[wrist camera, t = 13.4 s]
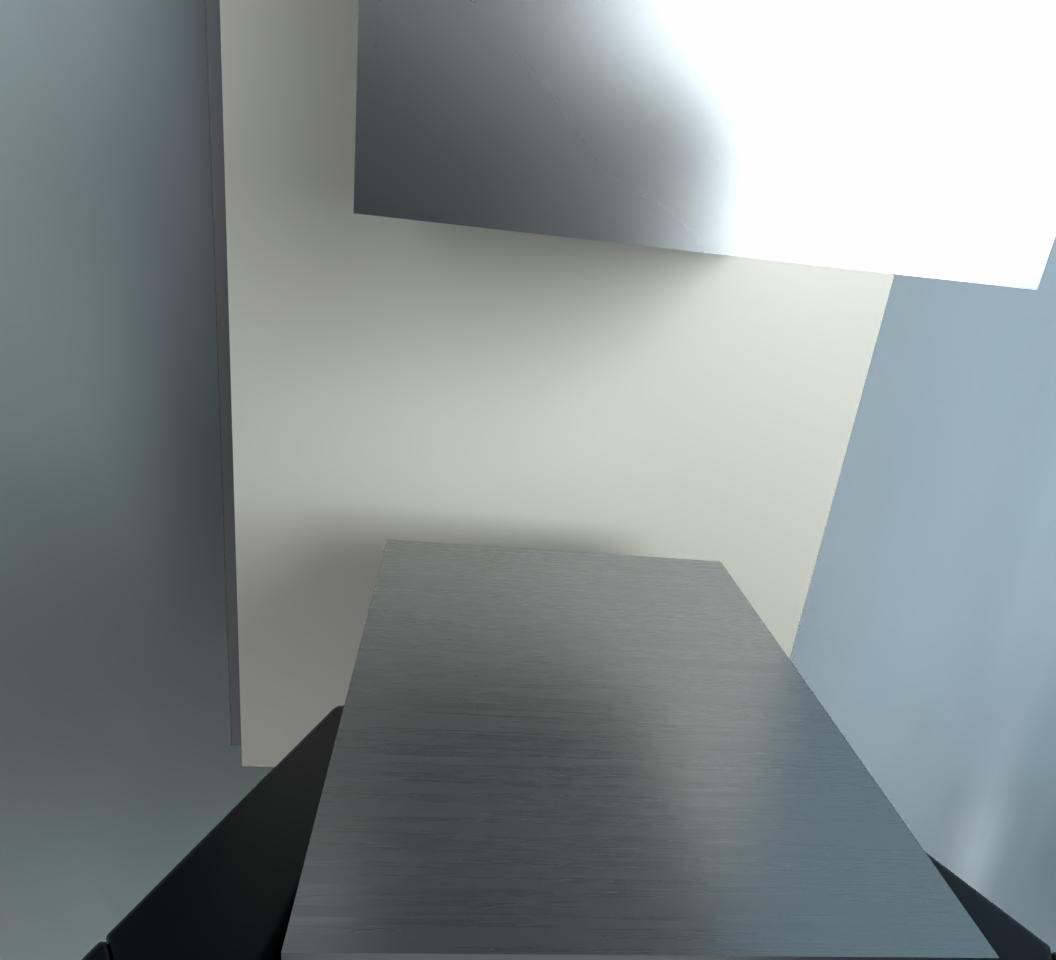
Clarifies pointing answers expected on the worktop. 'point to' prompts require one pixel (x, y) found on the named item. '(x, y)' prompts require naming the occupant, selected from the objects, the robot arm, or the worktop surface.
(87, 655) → the worktop surface
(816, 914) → the block
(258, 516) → the scale
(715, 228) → the block
